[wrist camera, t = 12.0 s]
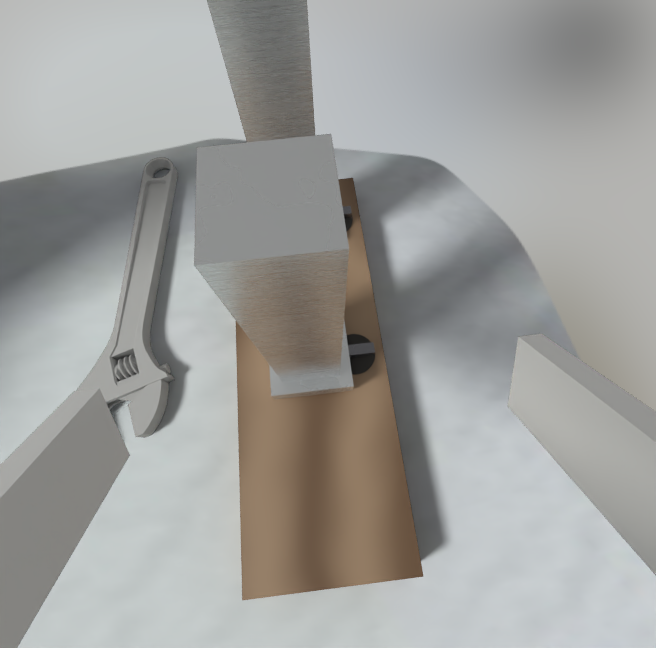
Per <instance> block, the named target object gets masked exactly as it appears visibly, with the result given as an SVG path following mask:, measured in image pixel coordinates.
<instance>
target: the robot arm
mask: <svg viewBox="0 0 656 648" xmlns="http://www.w3.org/2000/svg"><path fill="white" fill-rule="evenodd" d="M508 407H509V408H510V410H511V411H512V412H513V413H514V414H515V415H516V416H517V418H518V419H519V420H520V421H521V422H522V423H523V424H524V426H525V427H526V428H527V429H528V430H529V431H530V432H531V434H532V435H533V436H534V437H535V438H536V439H537V440H538V442H539V443H540V444H541V445H542V446H543V447H544V448H545V450H546V451H547V452H548V453H549V454H550V455H551V456H552V458H553V459H554V460H555V461H556V462H557V463H558V464H559V466H560V467H561V468H562V469H563V470H564V471H565V472H566V474H567V475H568V476H569V477H570V478H571V479H572V480H573V481H574V483H575V484H576V485H577V486H578V487H579V488H580V489H581V491H582V492H583V493H584V494H585V495H586V496H587V497H588V499H589V500H590V501H591V502H592V503H593V504H594V505H595V507H596V508H597V509H598V510H599V511H600V512H601V513H602V515H603V516H604V517H605V518H606V519H607V520H608V521H609V523H610V524H611V525H612V526H613V527H614V528H615V529H616V531H617V532H618V533H619V534H620V535H621V536H622V537H623V539H624V540H625V541H626V542H627V543H628V544H629V545H630V547H631V548H632V549H633V550H634V551H635V552H636V553H637V555H638V556H639V557H640V558H641V559H642V560H643V561H644V563H645V564H646V565H647V566H648V567H649V568H650V569H651V571H652V572H653V573H654V574H655V575H656V411H654V410H653V409H651V408H650V407H648V406H647V405H646V404H644V403H643V402H641V401H640V400H638V399H637V398H635V397H634V396H632V395H631V394H629V393H628V392H626V391H625V390H623V389H622V388H621V387H619V386H618V385H616V384H615V383H613V382H612V381H610V380H609V379H607V378H606V377H605V376H603V375H602V374H600V373H599V372H597V371H596V370H594V369H593V368H591V367H590V366H588V365H587V364H586V363H584V362H583V361H581V360H580V359H578V358H577V357H575V356H574V355H572V354H571V353H569V352H568V351H567V350H565V349H564V348H562V347H561V346H559V345H558V344H556V343H555V342H553V341H552V340H550V339H549V338H547V337H546V336H545V335H543V334H534V335H526V336H518V342H517V348H516V355H515V361H514V368H513V374H512V381H511V387H510V394H509V400H508ZM129 456H130V454H129V452H128V450H127V448H126V446H125V443H124V441H123V439H122V437H121V435H120V432H119V430H118V428H117V426H116V424H115V421H114V419H113V417H112V415H111V412H110V410H109V408H108V406H107V404H106V401H105V399H104V397H103V395H102V393H101V390H100V388H97V389H89V390H81V391H74V392H73V393H72V394H71V395H70V396H69V397H68V398H67V399H66V400H65V401H64V402H63V403H62V404H61V405H60V406H59V407H58V408H57V409H56V410H55V411H54V412H53V413H52V414H51V415H50V416H49V417H48V418H47V419H46V420H45V421H44V422H43V423H42V424H41V425H40V426H39V427H38V428H37V429H36V430H35V431H34V432H33V433H32V434H31V435H30V436H29V437H28V438H27V439H26V440H25V441H24V442H23V443H22V444H21V445H20V446H19V447H18V448H17V449H16V450H15V451H14V452H13V453H12V454H11V455H10V456H9V457H8V458H7V459H6V460H5V461H4V462H3V463H2V464H1V465H0V648H17V647H18V645H19V644H20V642H21V640H22V639H23V637H24V635H25V633H26V632H27V630H28V628H29V627H30V625H31V623H32V621H33V620H34V618H35V616H36V615H37V613H38V611H39V610H40V608H41V606H42V604H43V603H44V601H45V599H46V598H47V596H48V594H49V592H50V591H51V589H52V587H53V586H54V584H55V582H56V581H57V579H58V577H59V575H60V574H61V572H62V570H63V569H64V567H65V565H66V563H67V562H68V560H69V558H70V557H71V555H72V553H73V551H74V550H75V548H76V546H77V545H78V543H79V541H80V540H81V538H82V536H83V534H84V533H85V531H86V529H87V528H88V526H89V524H90V522H91V521H92V519H93V517H94V516H95V514H96V512H97V510H98V509H99V507H100V505H101V504H102V502H103V500H104V499H105V497H106V495H107V493H108V492H109V490H110V488H111V487H112V485H113V483H114V481H115V480H116V478H117V476H118V475H119V473H120V471H121V469H122V468H123V466H124V464H125V463H126V461H127V459H128V458H129Z"/></svg>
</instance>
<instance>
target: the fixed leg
mask: <svg viewBox="0 0 656 648" xmlns="http://www.w3.org/2000/svg"><path fill="white" fill-rule="evenodd" d="M207 2H208V5H209V9H210V13H211V16H212V20H213V23H214V27H215V30H216V34H217V38H218V41H219V45H220V48H221V52H222V55H223V59H224V62H225V66H226V69H227V73H228V76H229V80H230V83H231V87H232V90H233V94H234V98H235V101H236V105H237V108H238V112H239V115H240V119H241V122H242V126H243V129H244V133H245V136H246V140H247V142H256V141H266V140H276V139H286V138H296V137H306V136H315V126H314V109H313V92H312V76H311V60H310V44H309V27H308V10H307V0H207ZM343 213H344V219H350V218H351V217H352V211H351V206H344V207H343Z"/></svg>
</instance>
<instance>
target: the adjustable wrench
mask: <svg viewBox="0 0 656 648" xmlns="http://www.w3.org/2000/svg"><path fill="white" fill-rule="evenodd" d="M161 169H169V170H170V171H169V172H168V174H166V175H165V176H163V177H161V178H153V177H154V174H155V173H156V172H157V171H159V170H161ZM177 178H178V173H177V171H176V169H175V167H174V165H173V164H172V162H171V161H170V160H169V159H167V158H163V157H159V158H155V159H152V160H151V161H149V162H148V163H147V164H146V165H145V168H144V171H143V176H142V182H141V187H140V192H139V198H138V203H137V208H136V213H135V219H134V224H133V229H132V235H131V240H130V245H129V250H128V256H127V261H126V266H125V272H124V277H123V282H122V287H121V293H120V298H119V303H118V309H117V314H116V319H115V324H114V328H113V332H112V335H111V337H110V339H109V341H108V344H107V346H106V347H105V349H104V351H103V352H102V354H101V356H100V357H99V359H98V361H97V362H96V364H95V365H94V367H93V368H92V370H91V371H90V373H89V374H88V375H87V377H86V378H85V379H84V381H83V382H82V383H81V385H80V386H79V387H78V389H77V390H76V391H81V390H89V389H97V388H100V390H101V393H102V395H103V397H104V399H105V401H106V404H107V406H108V408H109V410H110V409H111V408H112V407H113V406H114V405H115V404H118V403H121V402H123V401H126V400H127V401H132V402H130V403H129V404H128V406H129V411H130V415H131V419H132V423H133V428H134V432H135V436H136V437H144V438H145V437H148V436H150V435H152V434H153V433H154V431H155V430H156V428H157V427H158V425H159V423H160V421H161V419H162V417H163V415H164V412H165V409H166V406H167V400H168V393H169V383H168V382H170V381H173V380H175V379H174V377H173V376H172V375H170V374H169V373H171V369H170V367H169V365H168V364H167V363H166V364H163V365H161V366H160V365H159V363H158V361H157V360H156V358H155V356H154V354H153V352H152V349H151V344H150V330H151V324H152V319H153V313H154V307H155V302H156V296H157V291H158V285H159V279H160V274H161V268H162V262H163V257H164V251H165V246H166V240H167V234H168V229H169V223H170V217H171V212H172V206H173V200H174V195H175V189H176V184H177ZM134 355H135V356H134Z"/></svg>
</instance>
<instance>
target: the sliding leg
mask: <svg viewBox="0 0 656 648" xmlns="http://www.w3.org/2000/svg"><path fill="white" fill-rule="evenodd" d="M348 258H349V244H348V238H347V232H346V225H345V219H344V213H343V206H342V200H341V194H340V187H339V181H338V175H337V168H336V162H335V156H334V149H333V144H332V137H331V134H326V135H317V136H306V137H296V138H286V139H276V140H266V141H256V142H246V143H236V144H226V145H216V146H206V147H197V163H196V208H195V252H194V266H195V267H196V269H197V270H198V271H199V273H200V274H201V275H202V276H203V278H204V279H205V280H206V282H207V283H208V284H209V286H210V287H211V288H212V290H213V291H214V292H215V294H216V295H217V296H218V298H219V299H220V300H221V302H222V303H223V304H224V306H225V307H226V308H227V309H228V311H229V312H230V313H231V315H232V316H233V317H234V319H235V320H236V321H237V323H238V324H239V325H240V327H241V328H242V329H243V331H244V332H245V333H246V335H247V336H248V337H249V338H250V340H251V341H252V342H253V344H254V345H255V346H256V348H257V349H258V350H259V352H260V353H261V354H262V356H263V357H264V358H265V360H266V361H267V362H268V364H269V368H270V385H271V396H272V397H273V398H274V399H284V398H292V397H301V396H309V395H318V394H326V393H335V392H343V391H352V390H353V387H354V385H353V378H352V371H351V364H350V358H351V357H359V356H368V355H374V354H375V349H374V343H373V342H370V343H361V344H353V345H348V342H347V335H346V328H345V321H344V312H345V298H346V285H347V271H348Z"/></svg>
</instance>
